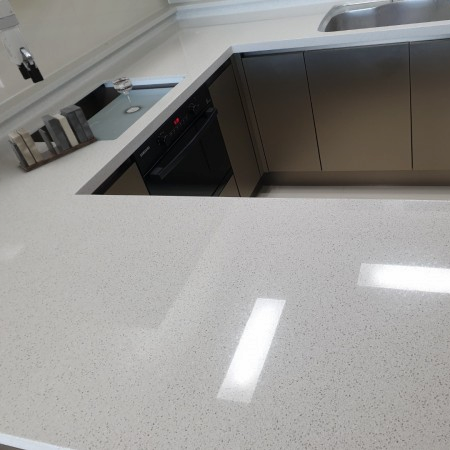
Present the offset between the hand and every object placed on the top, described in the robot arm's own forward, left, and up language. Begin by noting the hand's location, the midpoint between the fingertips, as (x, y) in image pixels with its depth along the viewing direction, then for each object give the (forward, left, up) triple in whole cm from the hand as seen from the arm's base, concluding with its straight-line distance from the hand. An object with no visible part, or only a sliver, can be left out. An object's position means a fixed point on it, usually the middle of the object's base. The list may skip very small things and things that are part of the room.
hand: (34, 79), depth 147 cm
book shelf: (-4, -2, -24) cm, 24 cm away
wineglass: (+30, +9, -24) cm, 39 cm away
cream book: (+1, -2, -23) cm, 23 cm away
